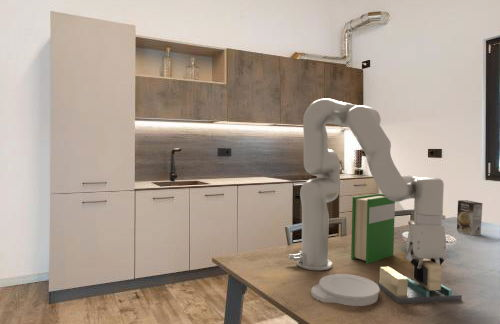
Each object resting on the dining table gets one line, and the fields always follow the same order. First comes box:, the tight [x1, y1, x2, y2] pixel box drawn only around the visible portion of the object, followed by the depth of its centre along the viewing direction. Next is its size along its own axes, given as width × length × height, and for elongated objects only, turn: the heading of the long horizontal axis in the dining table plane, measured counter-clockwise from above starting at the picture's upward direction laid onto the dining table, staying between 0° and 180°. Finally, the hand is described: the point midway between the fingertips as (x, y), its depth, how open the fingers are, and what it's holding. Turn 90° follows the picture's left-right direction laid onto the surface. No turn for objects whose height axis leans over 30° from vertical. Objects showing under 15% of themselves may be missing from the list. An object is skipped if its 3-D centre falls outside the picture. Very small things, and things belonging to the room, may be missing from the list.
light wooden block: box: [412, 259, 443, 290], centre depth 104 cm, size 8×4×7 cm, turn 8°
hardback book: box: [350, 193, 396, 265], centre depth 138 cm, size 18×7×24 cm, turn 128°
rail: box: [377, 266, 463, 305], centre depth 104 cm, size 19×12×6 cm, turn 98°
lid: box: [310, 273, 381, 307], centre depth 103 cm, size 17×20×3 cm
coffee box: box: [456, 199, 483, 236], centre depth 178 cm, size 9×6×16 cm
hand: (425, 279), depth 104 cm, fingers closed on light wooden block, 3 cm apart
